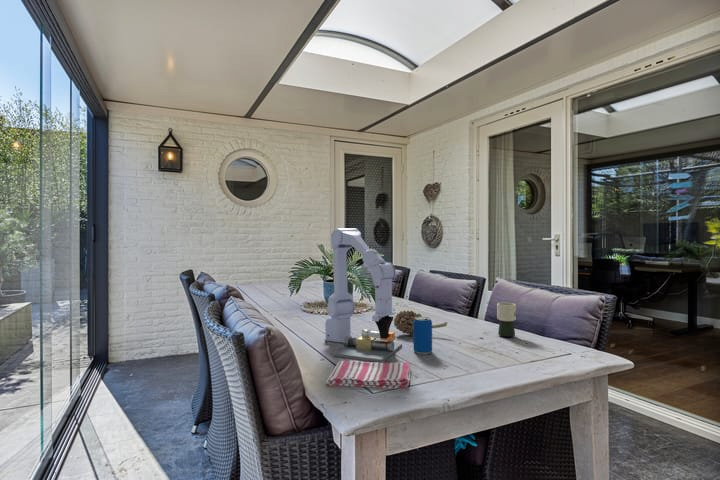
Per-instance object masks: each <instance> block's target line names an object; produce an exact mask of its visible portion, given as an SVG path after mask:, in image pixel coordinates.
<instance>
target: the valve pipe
mask: <svg viewBox="0 0 720 480" xmlns="http://www.w3.org/2000/svg"><path fill="white" fill-rule="evenodd" d="M351 336H352V335H351ZM351 336H347V337H346V338H345V340H344V344H343V345H344V347H345V346H346V347H349V346H351V347H356V349H360V350H369V351H371V350H373V349H377V350H385V351H387V352H391V351H393V350H394V343H395V342H394V340H393V341H385V340H380V339H377V338H373V337H370V338H362V335H360V336H358V337H355V338H352V337H353V336H352V337H351Z"/></svg>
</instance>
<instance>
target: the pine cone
mask: <svg viewBox="0 0 720 480" xmlns="http://www.w3.org/2000/svg"><path fill="white" fill-rule="evenodd" d="M415 317H423V315H422V314H421V313H416V312H415V311H413V310H403V311H399V312H398V313H396V314H395V317H393V325H394V327H395V329H396V330H399V332H402V334H407V335H410V336H412V335H413V321H414V320H415ZM448 324H449V322H447V321H444V322H443V323H440V324H432V329H437V328H438V329H439V328H444V327H447V325H448Z"/></svg>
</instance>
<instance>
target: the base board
mask: <svg viewBox="0 0 720 480" xmlns="http://www.w3.org/2000/svg"><path fill="white" fill-rule="evenodd" d="M402 347H403V343H400V342H399V343H398V342H394V350H393V351H391V352H387V351H385V350H377V349H373V350H371V351H369V350H360V349H356V347H351V346H349V347H346V346H345V345H344V347H342V348H340V349H338V350H336V351H335V352H333V353H332V355H333V357H336V358H344V359H353V360H357V361H365V362H366V361H368V362H373V363H375V362H378V363H385V362H386V360H388V359H389V358H390V357H391V356H392V355H394V353H396V352H397V351H399V350H400V349H401V348H402Z"/></svg>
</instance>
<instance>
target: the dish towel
mask: <svg viewBox="0 0 720 480" xmlns="http://www.w3.org/2000/svg"><path fill="white" fill-rule="evenodd" d="M410 380H411V362H383V363H381V362H374V361H370V362H369V361H368V362H366V361H362V360H340V361H338V363H337V364H336V365H335V367H334V369H333V370H332V372H331V373H330V375H329V377H328V378H327V380H326V382H325V384H326V386H334V387H335V386H337V387H338V386H340V387H361V388H362V387H365V388H381V389H401V390H402V389H403V390H405V388H406V389H407V388H408V386H409V384H410Z"/></svg>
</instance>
